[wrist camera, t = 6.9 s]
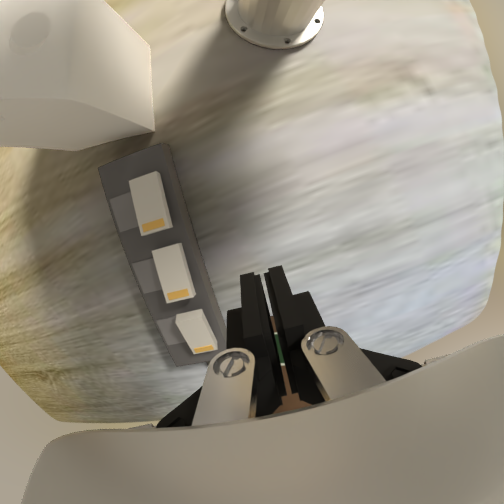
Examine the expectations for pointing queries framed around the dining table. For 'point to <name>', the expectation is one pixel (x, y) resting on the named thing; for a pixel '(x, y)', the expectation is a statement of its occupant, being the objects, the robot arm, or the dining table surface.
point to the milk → (71, 75)
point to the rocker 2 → (196, 331)
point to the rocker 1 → (150, 203)
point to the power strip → (141, 247)
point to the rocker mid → (173, 273)
